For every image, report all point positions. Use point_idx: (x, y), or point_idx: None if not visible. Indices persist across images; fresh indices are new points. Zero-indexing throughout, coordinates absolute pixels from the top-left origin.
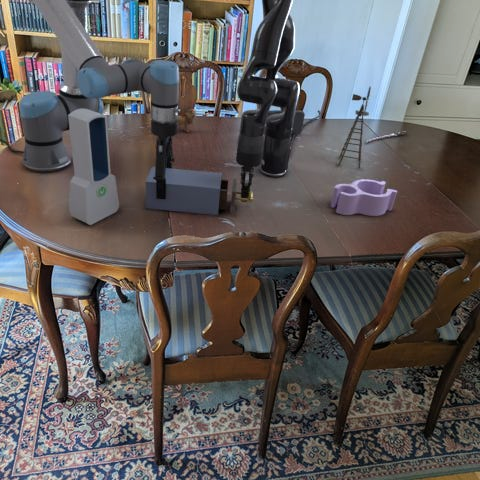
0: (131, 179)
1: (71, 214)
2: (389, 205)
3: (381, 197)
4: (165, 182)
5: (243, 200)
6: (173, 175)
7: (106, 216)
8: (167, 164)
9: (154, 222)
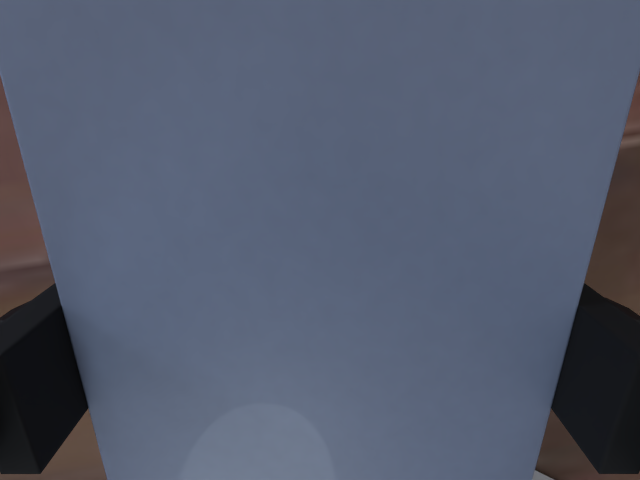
0: (79, 451)
1: None
2: None
3: None
4: (637, 325)
5: None
6: (294, 245)
7: (546, 477)
8: (38, 396)
9: (610, 242)
